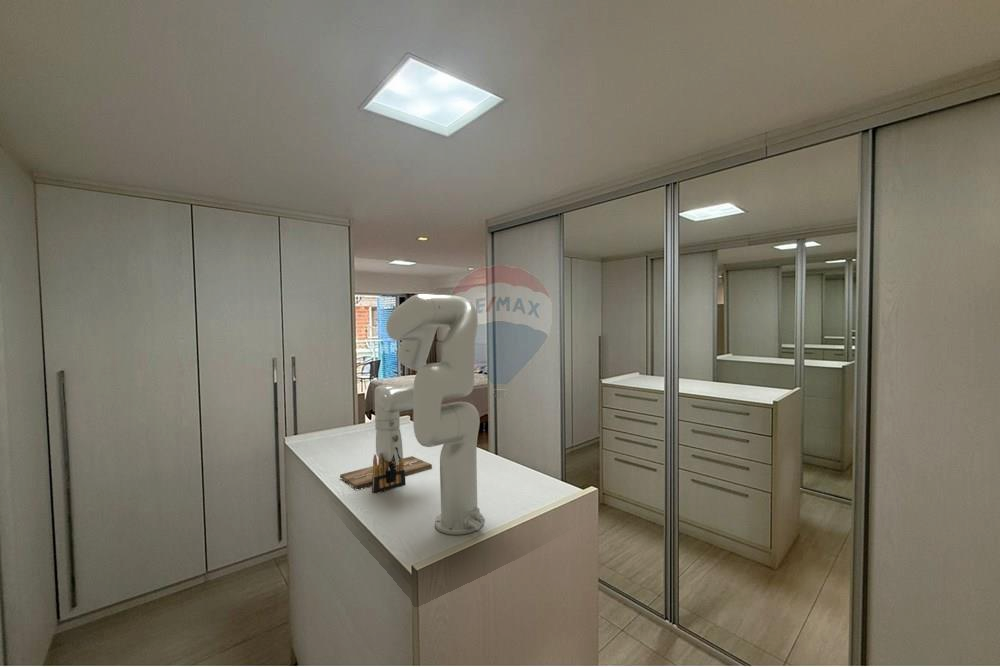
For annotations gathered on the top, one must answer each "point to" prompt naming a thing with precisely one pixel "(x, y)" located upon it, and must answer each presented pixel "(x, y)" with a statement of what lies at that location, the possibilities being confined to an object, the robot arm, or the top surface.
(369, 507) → the top surface
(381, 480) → the ammunition clip
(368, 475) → the walnut board
